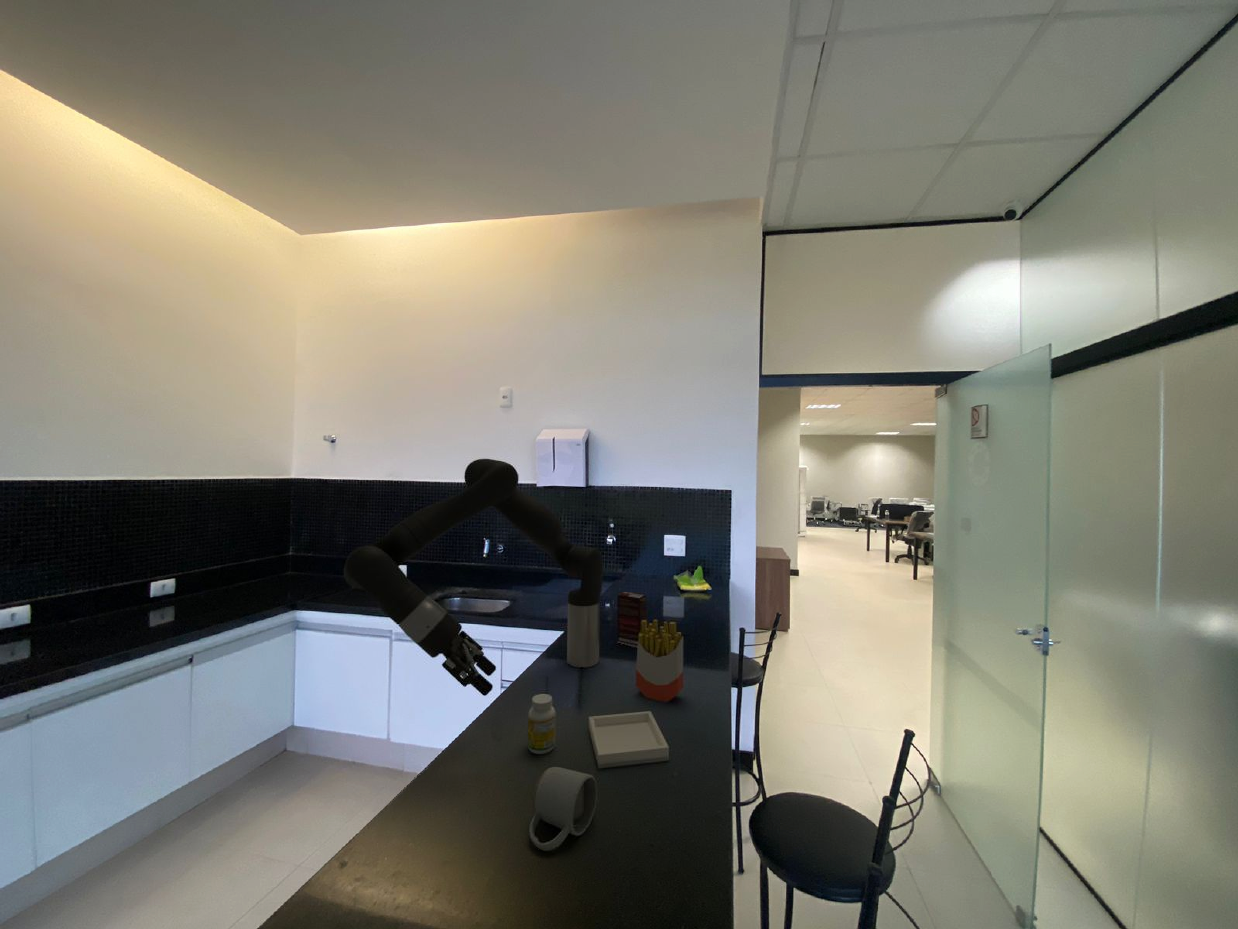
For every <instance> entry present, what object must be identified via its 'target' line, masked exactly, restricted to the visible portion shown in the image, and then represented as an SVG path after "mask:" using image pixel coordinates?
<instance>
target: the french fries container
mask: <svg viewBox="0 0 1238 929" xmlns="http://www.w3.org/2000/svg"><path fill="white" fill-rule="evenodd" d="M658 625H659V624H658V619H653V620H652V623H648V620H642V621H641V626H642V630H641V631H640V632H639V635H638V638H639V639H638V648H637V651H636V652H637V653H636V663H635V664H636V665H635V687H637V689H638V691H640V692H641V693H642V695H643V697H645V698H647V699H650V698H651V700H656V701H660V702H665V703H668V702H670V701H671V700H672V699H673V698H675V697H676V696H678V695H679V694H680V692H681V691H682V689H683V688H684V636H683V635H682V632H680V631H679V632H678V631H677V622H675V621H670V622H669V623H668V621H664V622H663V626H660V627H659V626H658Z"/></svg>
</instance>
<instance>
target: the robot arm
mask: <svg viewBox="0 0 1238 929" xmlns="http://www.w3.org/2000/svg"><path fill="white" fill-rule="evenodd" d="M463 479H464V482H465V486H466V487H467V488H466V489H464V490H463V491H461V492H459V493H456V494H455V495H453V496H452V495H451V496H450V497H447V498H445V499H442V500H440V501H437V502H434V503H432V504H429V505H427V506H425V507H423V508H421V509H419V510H417V511H416V512H414V513H412V514H411V515H410V516H408V517H407V518H405V519H403V520H402V521H400V522H399V523H397V524H395V525H394V526H393V527H392V528H390V529H389V531H387V532H386V534H384V536H382V538H380V539H379V540H377V541H375V542H374V543H372V544H371V545H363V546H359V547H357V548H355V549H354V550H353V551H352V552H350V553H349V555H348V557H347V558H346V560H345V562H344V563H345V564H344V567H343V577H344V581H345V582H346V584H348V585H349V586H350V587H352V588H354V589H358V590H360V589H361V590H364V591H365V592H366V593H367V594H368V595H369V596H370V597H372V598H373V599H374V600H375V601H376V602H377V604H378V607H379V609H380V610H381V611H382V612H383V613H384V614H385V615H386V616H387V617H388V618H389V619H390V620H392V621H393V622H394V624H396V625H397V626H398V627H399V628H400V629H401V630H402V632H403V633H404V635H406V636H407V637H409V638H410V640H412V642H414V643H415V644H416V645H417V646H418V647H419V648H421V649H422V650H423V651H424V652H425V653H426V654H428V656H429V657H430V658H432V659H433V658H434V659H435V658H437V657H438V656H439V655H441V654H442V655H443V657H444V658H445V661H443V662H442V664H441V666H442V668H444V669H445V670H446V671H447V672H448V674H450V675H451V676H452V677H453V678H454V679H455V680H456V681H457V682H458V683H459V684H460V685H462V687H464V688H466V687H467V686H468V685H471V686H472V688H474V689H475V690H476V691H478V692H479V693H480V694H481V695H482V696H484V697H486V696H487V695H489V693H490V692H491V691H492V690H493V688H494V686H493V684H492V683H491V682H490V681H489V680H488V679H486V677H484V676H483V675H482V674H481V673H479V671H478V669H480V671H482V672H483V673H484V674H485V675H486V676H487V677H490V676H492V674H494V673H495V672H496V670H497V666H496V665H495V664H494V663H493V661H491V660H490V659H488V657H486V656H485V653H484V651H483V646H481V644H480V643H478V642H477V641H475V639H473V638H472V637H471V636H470V635H469V634H468V633H467V632H465V631H464V630H463V626H462V624H461V623H460V622H459V621H458V620H457V619H456V618H455V617H453V616H452V615H451V614H450V613H449V612H448V611H447V610H446V609H444V608H443V607H442V606H441V605H440V604H439V603H438V602H437V601H435V600H433V599H432V598H431V597H429V596H428V595H427V594H426V593H425V592H424V591H423V590H422V589H421V588H419V587H418V586H417V584H415V583H414V582H412V581H411V580H410V579H409V578H408V577H407V575H406V574H405V573H404V571H403V570H402V569H401V568H400V566H401V565H402V564H404V562H406V561H407V560H409V559H410V558H412V557H415V555H418V553H420V552H421V551H423V550H424V549H425V548H427V547H428V546H429V545H431V544H432V543H433V542H434V541H435V542H436V541H437V539H439V538H441V537H442V536H443V535H445V534H447V533H448V532H449V531H451V530H452V529H453V528H455V527H457V526H459V525H460V524H462V523H464V522H465V521H467V520H469V519H471V518H473V517H475V516H476V515H478V514H479V513H481V512H483V511H486V510H487V509H490V508H493V509H495V510H496V511H497V512H499V513H500V514H501V515H502V516H503V517H504V518H505V519H506V520H507V521H508V522H509V523H511V525H513V526H514V528H516V529H517V530H518V531H519V532H521V534H523V535H524V536H525V537H526V538H527V539H528V540H529V541H531V542H532V543H533V544H535V545H536V546H537V547H538V548H539V549H540V550H542V551H543V552H544V553H545V554H547V555H548V556H550V558H551V559H552V560H553V561H554V562H555V564H556V565H558V566H559V568H560V569H561V570H562V571H563V572H564V573H565V574H566V575H567V576H569V577H571V578H574V579H575V578H577V579H580V587H579V588H574V589H572V590H570V591H569V592H568V594H567V633H566V634H567V641H566V642H567V643H566V644H567V646H566V649H567V650H566V652H567V653H566V661H567V662H566V663H567V664H568V665H569V664H570V666H571V667H574V668H581V667H583V668H591V667H593V666H596V665H597V664H598V663H599V661H600V597H601V594H602V590H603V589H602V588H603V572H604V558H603V555H602V552H601V550H600V549H599V548H597V547H591V546H583V545H578V544H574V543H573V542H571V541H570V540H569V539H568V538H567V537H566V536H565V535H564V527H563V523H562V522H561V519H560V518H559V517H558V516H557V515H556V514H555V513H554V512H553V511H552V510H551V509H550V508H548V506H546V505H545V504H544V503H542V502H541V501H539V500H537V499H535V498H534V497H532V496H531V495H528V494H526V493H525V492H524V491H521V490H520V489H518V484H519V473H518V471H517V469H516V468H515V467H514V466H513V465H512V464H510V462H509V463H508V462H506V461H502V460H497V459H492V458H478V459H475V460H473V461H471V462H470V463H469V464H468V465H467V467H465V471H464V478H463ZM476 667H477V668H478V669H477V668H476Z"/></svg>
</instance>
